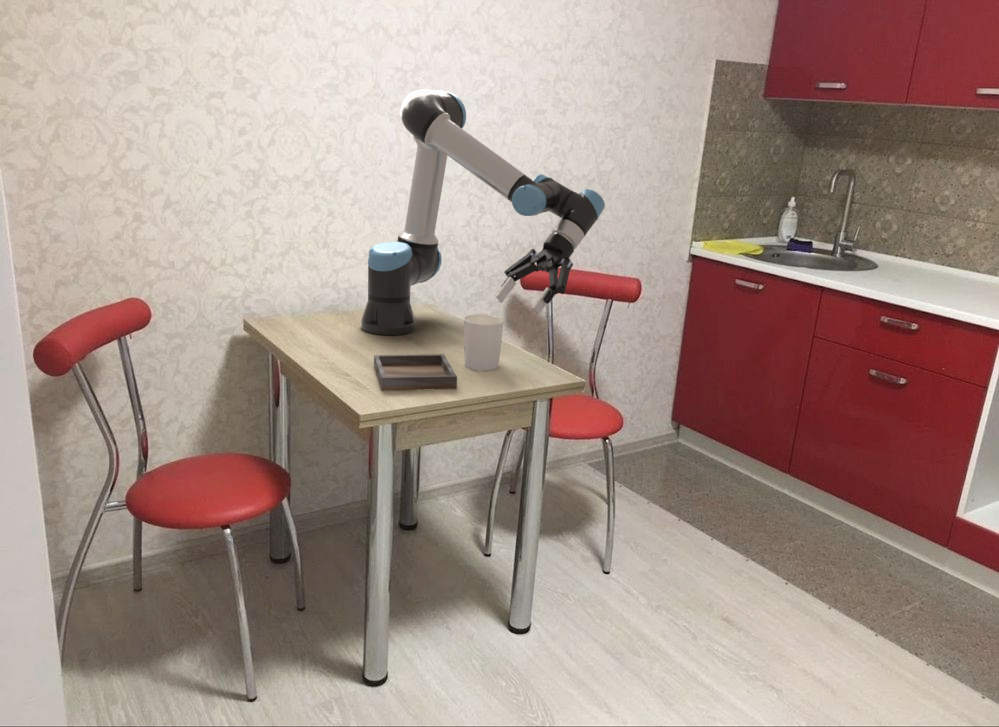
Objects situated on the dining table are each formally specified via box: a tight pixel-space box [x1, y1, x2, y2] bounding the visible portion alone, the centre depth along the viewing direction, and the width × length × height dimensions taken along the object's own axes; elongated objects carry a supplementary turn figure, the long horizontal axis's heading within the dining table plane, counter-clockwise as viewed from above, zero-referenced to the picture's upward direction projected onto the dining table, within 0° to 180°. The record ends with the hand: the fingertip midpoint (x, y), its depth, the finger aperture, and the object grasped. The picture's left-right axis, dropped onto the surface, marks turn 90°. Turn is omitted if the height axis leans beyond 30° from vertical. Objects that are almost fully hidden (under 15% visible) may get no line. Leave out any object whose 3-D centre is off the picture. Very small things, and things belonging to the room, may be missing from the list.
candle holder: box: [463, 313, 505, 372], centre depth 211 cm, size 10×10×12 cm
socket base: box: [373, 353, 458, 392], centre depth 200 cm, size 17×17×3 cm
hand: (516, 305), depth 215 cm, fingers open, 13 cm apart
